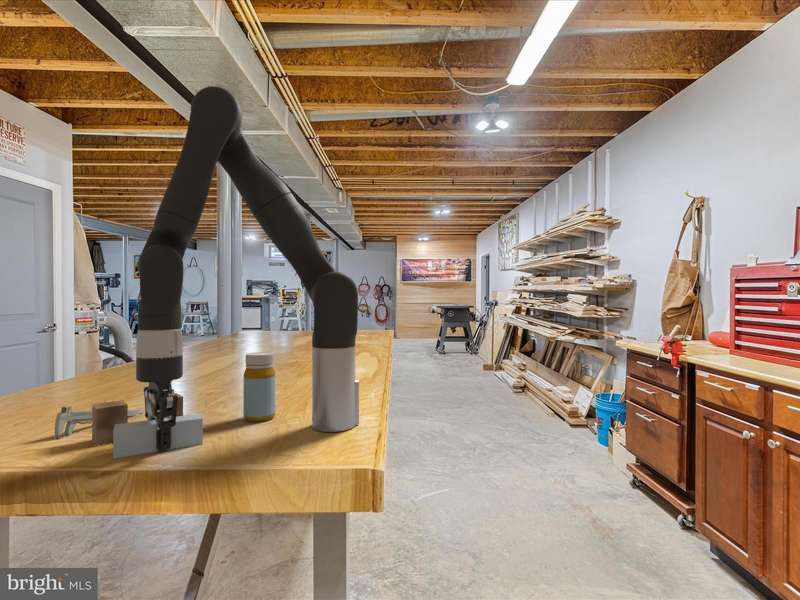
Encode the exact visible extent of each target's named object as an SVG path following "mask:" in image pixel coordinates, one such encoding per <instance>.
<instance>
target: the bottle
mask: <svg viewBox="0 0 800 600" xmlns="http://www.w3.org/2000/svg"><path fill="white" fill-rule="evenodd" d="M244 360H245V361H244V362H245V370H244V373H243V381H242V382H243V387H242V389H243V395H242V396H243V397H242V398H243V403H242V404H243V405H242V408H243V409H242V411H243V419H244V420H246V422H250V423H261V422H267V421H268V422H269V421H271V420H273V418H274V417H275V416H276V371H275V368H274V366H275V365H274V362H275V359H274V352H270V351H256V352H247V353H245V359H244Z"/></svg>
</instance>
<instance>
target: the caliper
mask: <svg viewBox="0 0 800 600" xmlns="http://www.w3.org/2000/svg"><path fill="white" fill-rule="evenodd" d="M144 412H145V410H141V409H140V408H134V409H128V417H134V416H135V415H136V416H139V415H141V414H145V413H144ZM138 414H139V415H138ZM136 416H135V417H136ZM65 424H66V425H65ZM77 424H81V425H85V424H91V425H92V410H73V406H62V407H61V410H60V412H57V413H56V418H55V422H54V437H55V438H57V439H62V436H64V437H70V436H71V435H72V433H73V431H74V429H75V427H76V425H77ZM64 428H65V429H64ZM63 433H64V434H63ZM69 435H70V436H69Z"/></svg>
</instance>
